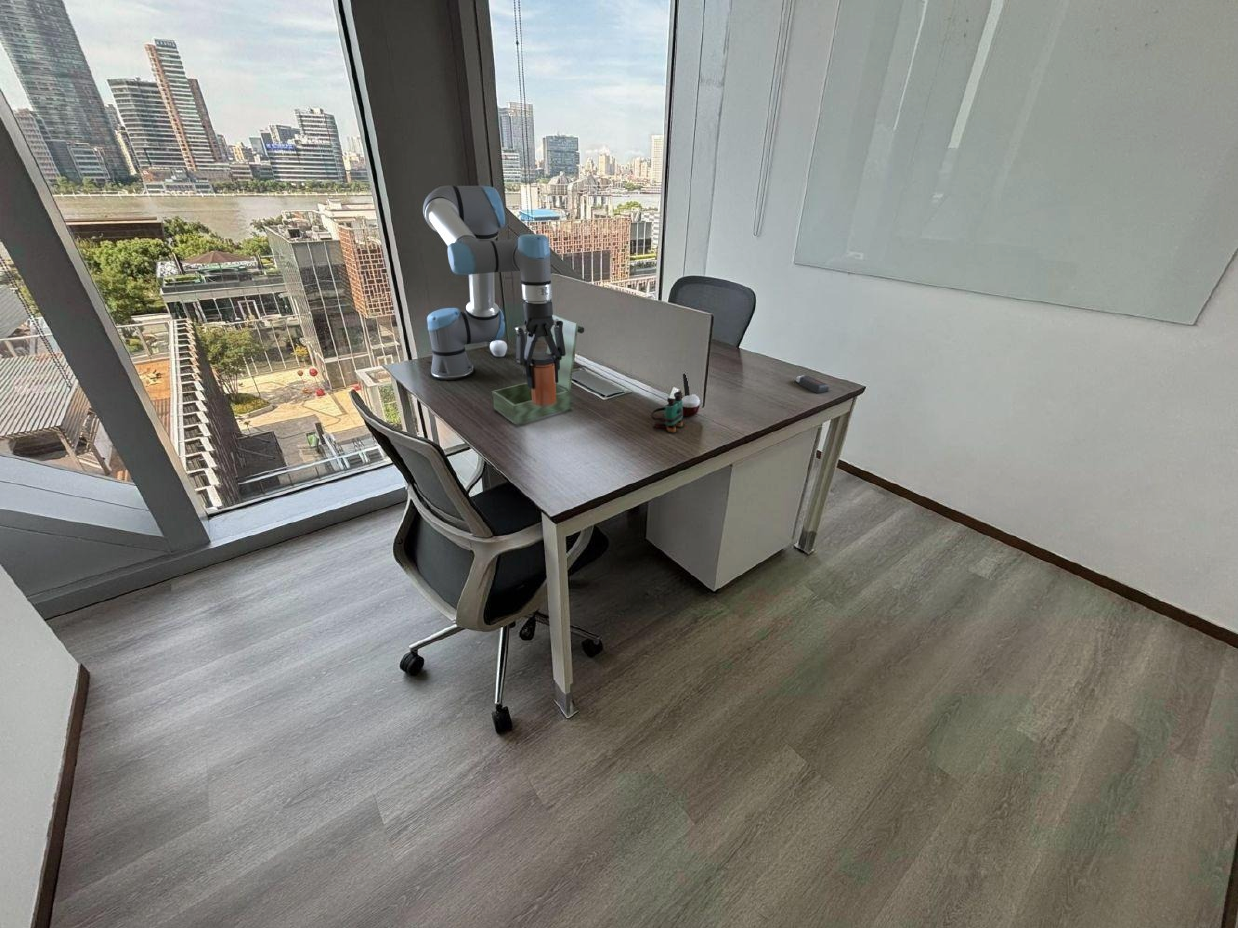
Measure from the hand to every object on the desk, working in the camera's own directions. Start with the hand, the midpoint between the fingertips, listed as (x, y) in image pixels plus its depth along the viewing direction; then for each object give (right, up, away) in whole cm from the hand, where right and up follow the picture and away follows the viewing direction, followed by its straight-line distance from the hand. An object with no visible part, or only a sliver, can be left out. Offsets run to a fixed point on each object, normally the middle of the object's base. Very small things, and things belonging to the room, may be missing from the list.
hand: (543, 384), depth 138 cm
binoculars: (+36, -11, +12) cm, 39 cm away
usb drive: (+92, +6, +42) cm, 102 cm away
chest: (-7, -5, +20) cm, 21 cm away
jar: (0, -4, +3) cm, 5 cm away
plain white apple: (-29, +23, +67) cm, 77 cm away
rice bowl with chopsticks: (+44, -7, +20) cm, 49 cm away
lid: (+2, +13, +17) cm, 22 cm away
